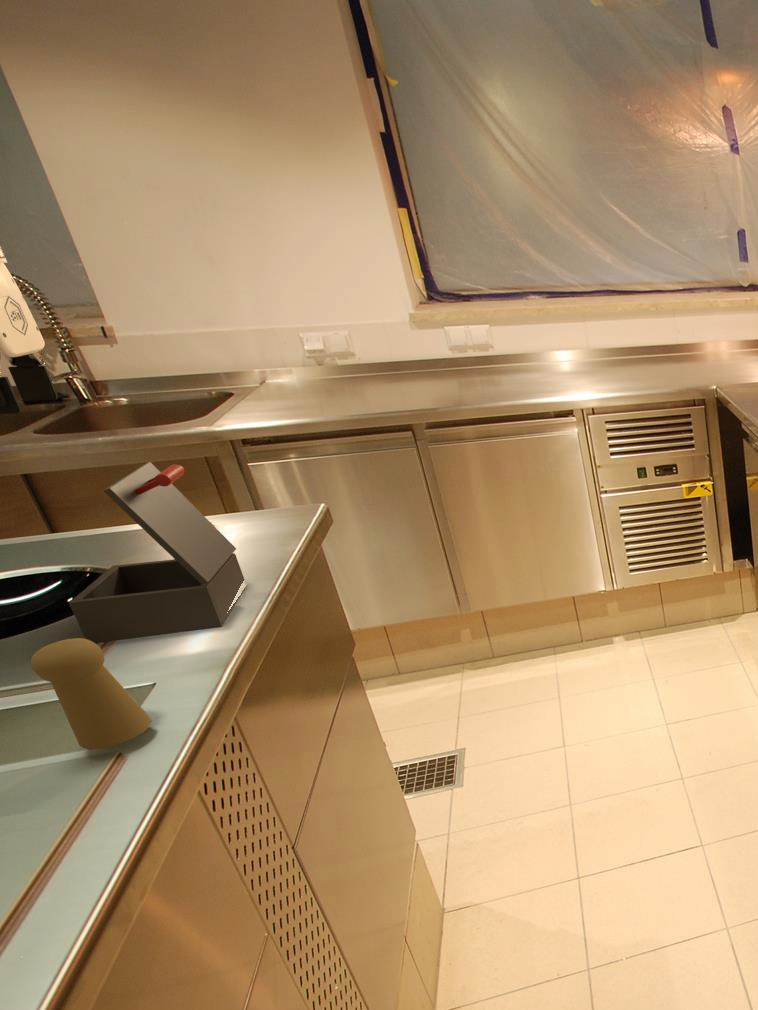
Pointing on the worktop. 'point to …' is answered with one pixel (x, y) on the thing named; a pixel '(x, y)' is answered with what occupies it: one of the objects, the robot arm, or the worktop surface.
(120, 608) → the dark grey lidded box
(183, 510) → the box lid
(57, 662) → the cork
